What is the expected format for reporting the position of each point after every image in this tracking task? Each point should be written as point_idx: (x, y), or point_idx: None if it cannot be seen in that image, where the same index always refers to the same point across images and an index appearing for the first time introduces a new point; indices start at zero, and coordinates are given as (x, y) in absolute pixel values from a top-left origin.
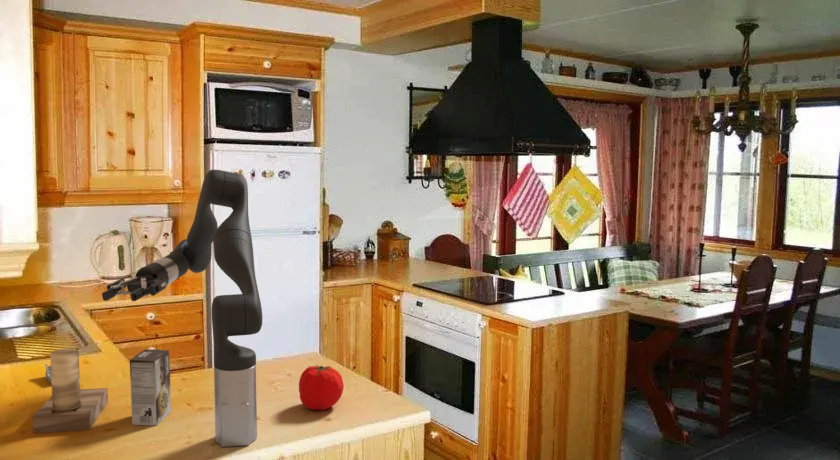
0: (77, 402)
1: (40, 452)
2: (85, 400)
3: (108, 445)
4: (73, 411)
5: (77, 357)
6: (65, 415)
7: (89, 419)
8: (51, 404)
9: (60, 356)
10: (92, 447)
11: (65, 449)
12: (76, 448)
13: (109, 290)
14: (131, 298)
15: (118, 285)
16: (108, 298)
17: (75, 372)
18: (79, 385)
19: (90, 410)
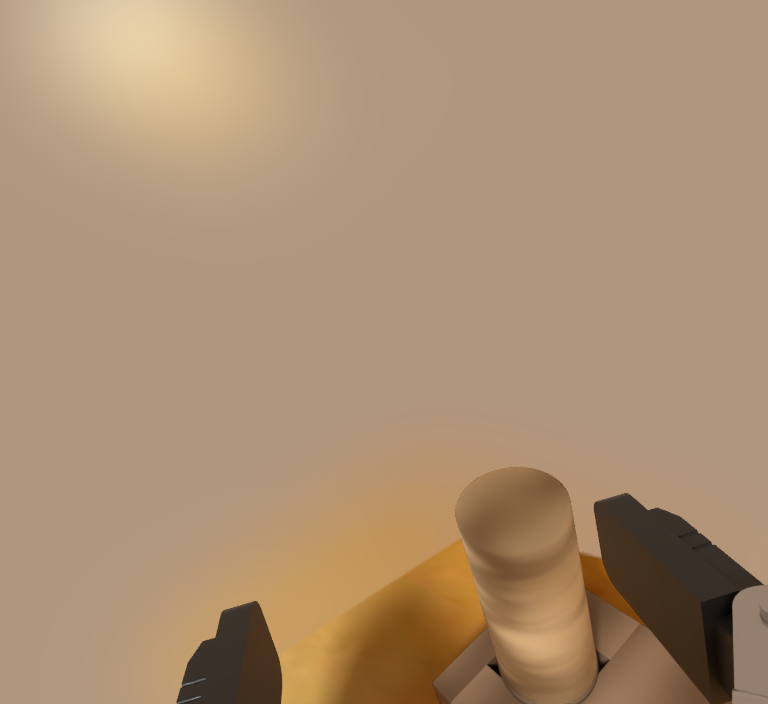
0: (499, 665)
1: (416, 566)
2: None
3: (299, 686)
4: (490, 658)
5: (470, 551)
6: (485, 631)
7: (441, 702)
8: (629, 645)
9: (472, 484)
10: (328, 653)
11: (380, 606)
12: (361, 625)
13: (641, 547)
14: (268, 641)
15: (755, 677)
16: (631, 595)
17: (474, 581)
18: (500, 642)
19: (451, 701)
